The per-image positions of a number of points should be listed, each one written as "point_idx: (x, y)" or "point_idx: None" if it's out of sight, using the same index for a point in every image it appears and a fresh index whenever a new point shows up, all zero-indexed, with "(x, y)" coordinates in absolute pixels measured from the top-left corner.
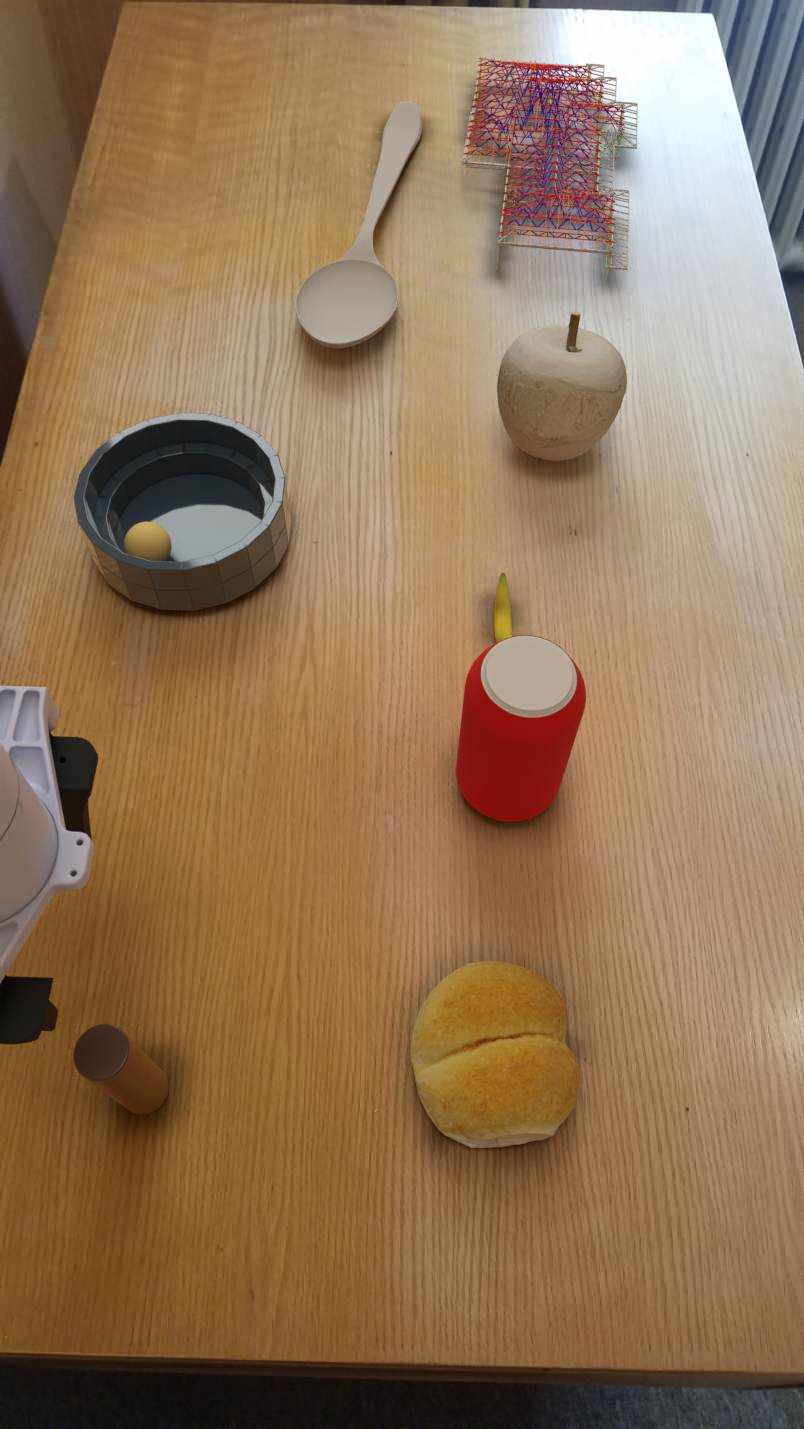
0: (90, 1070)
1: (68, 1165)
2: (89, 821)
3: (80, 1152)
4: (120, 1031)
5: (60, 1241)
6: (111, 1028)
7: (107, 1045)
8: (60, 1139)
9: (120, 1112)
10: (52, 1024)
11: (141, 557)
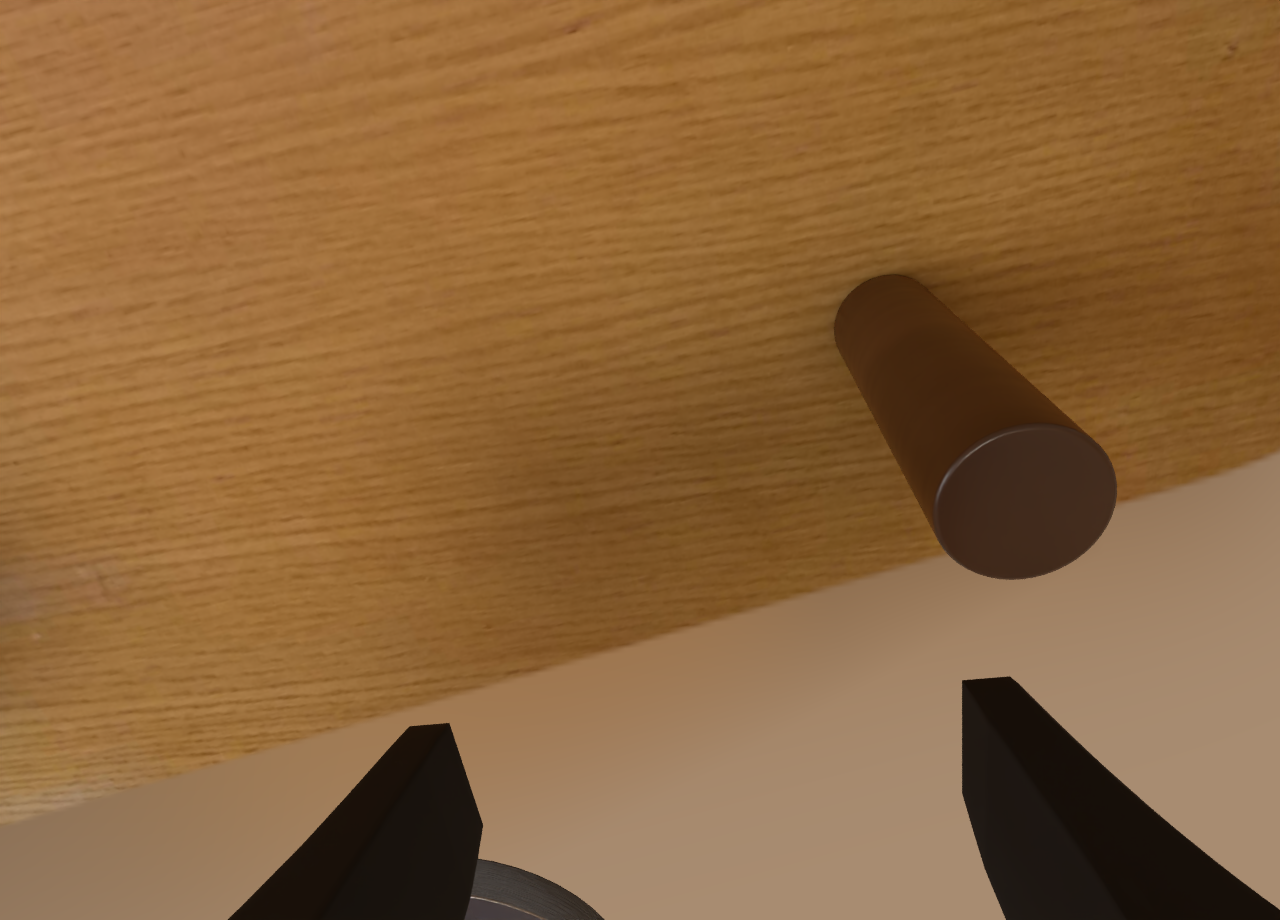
0: (1084, 519)
1: None
2: (303, 843)
3: None
4: (958, 468)
5: (1185, 403)
6: (948, 496)
7: (1005, 493)
8: None
9: None
10: (1071, 738)
11: None
